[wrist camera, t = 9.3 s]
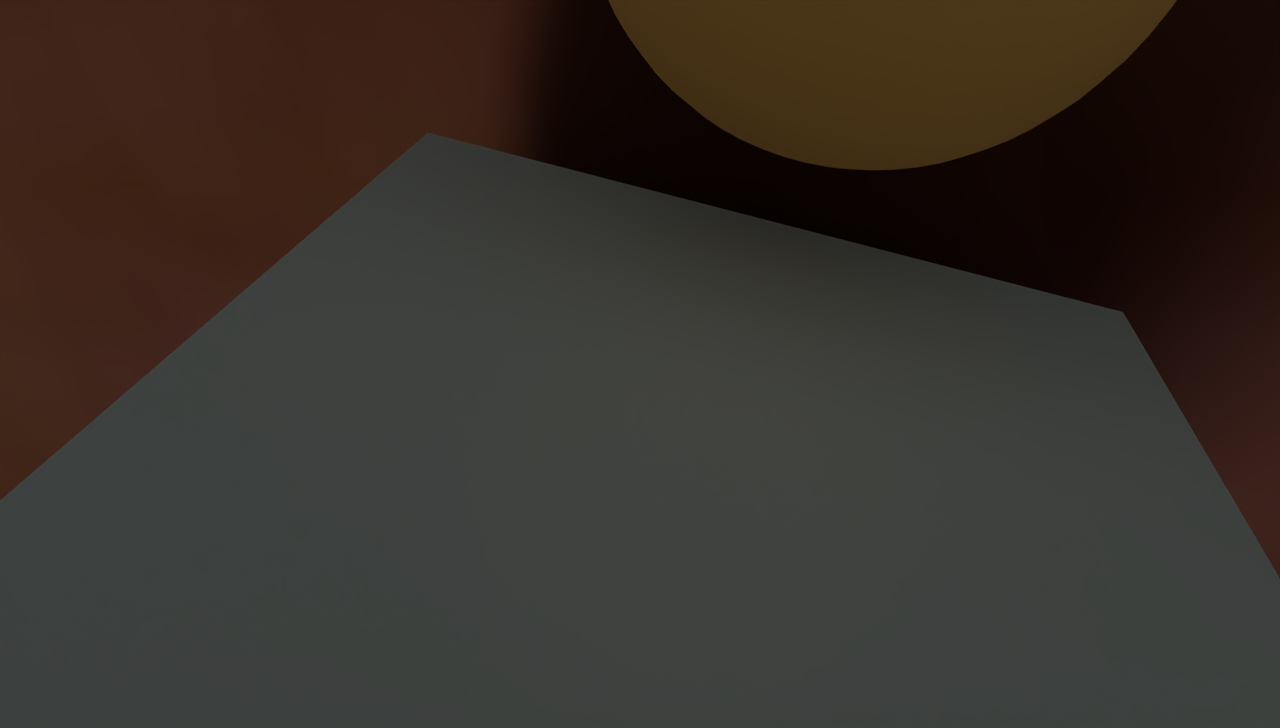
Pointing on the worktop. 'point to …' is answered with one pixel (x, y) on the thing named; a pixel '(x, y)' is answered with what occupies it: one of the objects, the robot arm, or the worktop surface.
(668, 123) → the worktop surface
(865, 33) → the ball
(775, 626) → the pale grey cube
